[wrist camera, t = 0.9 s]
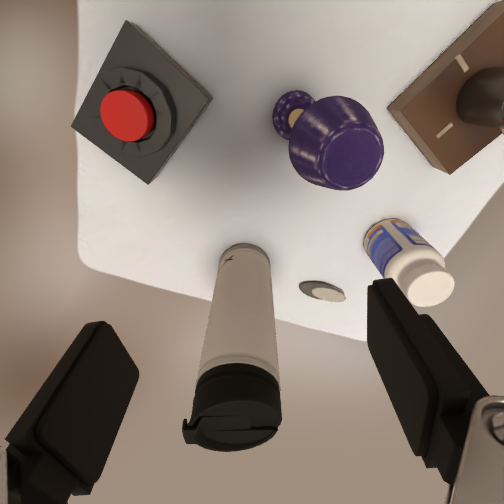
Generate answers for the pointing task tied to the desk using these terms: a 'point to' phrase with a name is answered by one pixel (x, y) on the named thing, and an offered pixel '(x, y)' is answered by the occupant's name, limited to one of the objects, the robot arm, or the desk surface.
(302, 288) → the oval pebble
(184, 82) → the switch block
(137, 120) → the button
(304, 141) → the toy lamp
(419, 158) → the desk surface
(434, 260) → the pill bottle
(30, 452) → the robot arm
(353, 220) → the desk surface
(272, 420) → the travel mug
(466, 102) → the dimmer knob
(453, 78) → the dimmer panel
